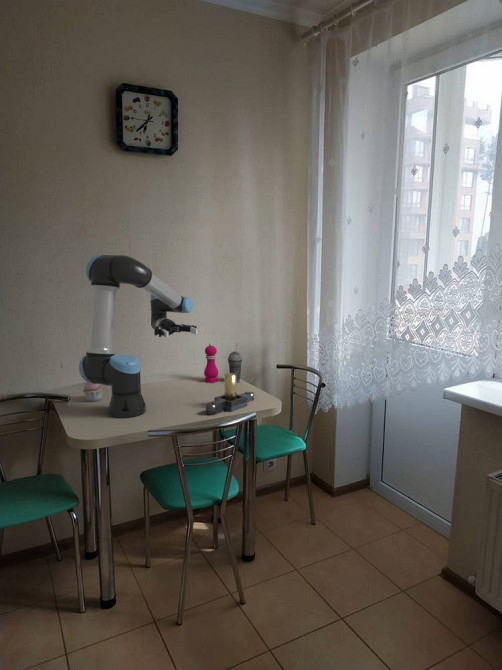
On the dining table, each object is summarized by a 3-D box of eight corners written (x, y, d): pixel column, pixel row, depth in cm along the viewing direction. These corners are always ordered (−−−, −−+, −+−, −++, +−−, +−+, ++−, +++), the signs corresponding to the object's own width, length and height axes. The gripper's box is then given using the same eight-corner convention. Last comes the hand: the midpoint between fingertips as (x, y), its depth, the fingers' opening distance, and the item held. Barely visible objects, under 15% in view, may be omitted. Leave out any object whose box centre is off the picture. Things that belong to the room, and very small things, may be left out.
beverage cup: (233, 379, 251) (232, 341, 247) (245, 381, 247) (244, 342, 244) (225, 382, 245) (224, 343, 241) (237, 384, 241) (237, 345, 237)
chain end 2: (231, 411, 202) (231, 404, 202) (214, 406, 208) (214, 399, 208) (261, 400, 216) (261, 394, 216) (244, 396, 223) (244, 389, 222)
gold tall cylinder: (231, 408, 206) (230, 376, 203) (222, 406, 209) (222, 374, 206) (239, 405, 209) (238, 374, 207) (230, 403, 213) (230, 372, 210)
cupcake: (108, 397, 222) (107, 375, 220) (99, 403, 213) (97, 381, 211) (89, 396, 223) (87, 375, 222) (79, 402, 214) (77, 380, 212)
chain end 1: (216, 417, 195) (215, 408, 194) (198, 412, 202) (198, 403, 201) (247, 405, 210) (247, 396, 209) (230, 401, 216) (230, 392, 215)
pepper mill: (217, 383, 244) (217, 344, 240) (203, 383, 244) (202, 344, 240) (219, 379, 251) (218, 341, 247) (205, 379, 251) (204, 341, 247)
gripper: (190, 331, 239) (208, 339, 220) (140, 336, 226) (155, 344, 208) (190, 316, 237) (208, 322, 219) (139, 320, 225) (154, 327, 207)
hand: (182, 333), depth 214 cm, fingers open, 13 cm apart
